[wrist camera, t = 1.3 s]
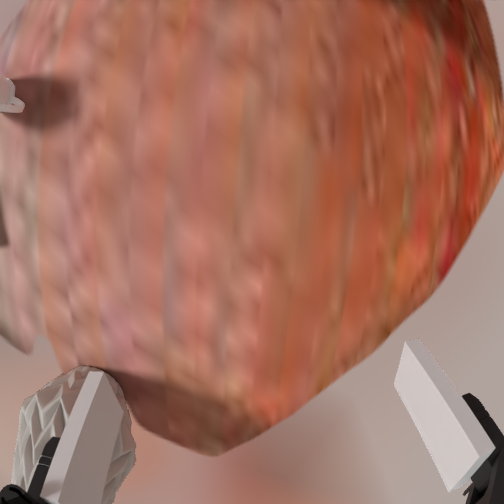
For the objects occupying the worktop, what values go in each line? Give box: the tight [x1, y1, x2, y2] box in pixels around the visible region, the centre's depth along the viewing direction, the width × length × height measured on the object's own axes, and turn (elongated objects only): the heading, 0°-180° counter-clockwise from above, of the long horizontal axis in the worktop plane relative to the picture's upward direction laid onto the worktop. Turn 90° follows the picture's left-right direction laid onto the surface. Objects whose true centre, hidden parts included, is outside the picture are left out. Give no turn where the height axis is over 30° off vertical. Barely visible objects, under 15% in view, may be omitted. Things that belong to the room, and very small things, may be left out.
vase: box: [12, 366, 136, 504], centre depth 25 cm, size 17×17×33 cm
